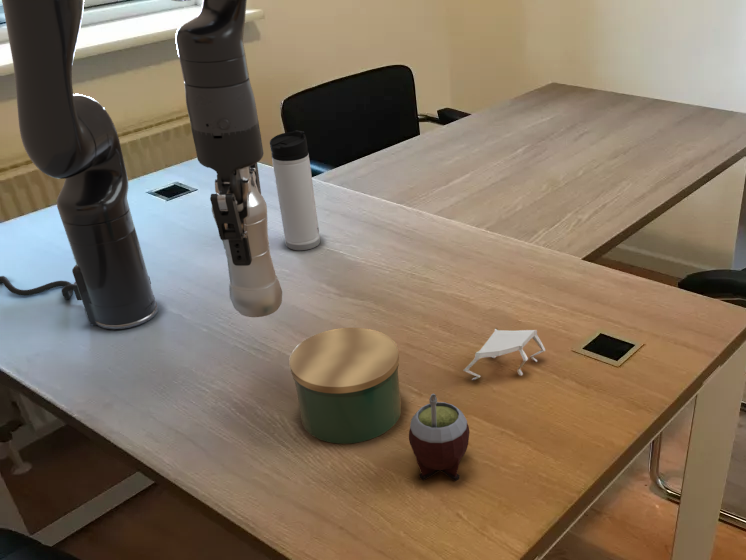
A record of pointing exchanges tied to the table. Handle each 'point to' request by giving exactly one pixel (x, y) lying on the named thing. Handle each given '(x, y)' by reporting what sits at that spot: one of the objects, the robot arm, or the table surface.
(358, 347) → the crock
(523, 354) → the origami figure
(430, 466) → the mate gourd
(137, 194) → the table surface
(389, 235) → the table surface
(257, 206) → the silver metal bottle
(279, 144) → the travel mug
